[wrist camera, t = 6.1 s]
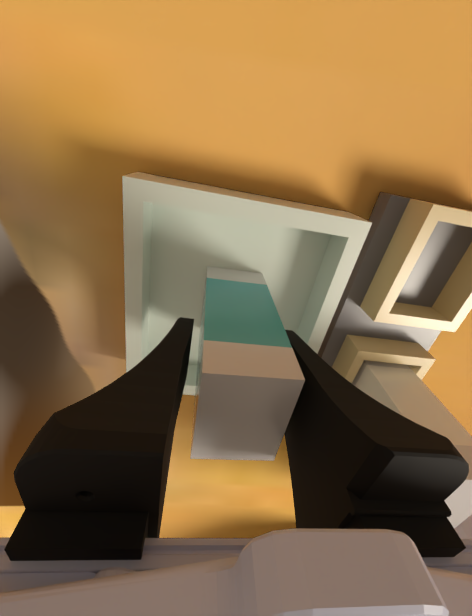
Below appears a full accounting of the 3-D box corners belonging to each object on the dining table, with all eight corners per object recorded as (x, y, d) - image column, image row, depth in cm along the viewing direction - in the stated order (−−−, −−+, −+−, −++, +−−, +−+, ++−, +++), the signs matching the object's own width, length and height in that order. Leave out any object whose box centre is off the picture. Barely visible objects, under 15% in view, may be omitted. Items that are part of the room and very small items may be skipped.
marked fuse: (248, 332, 17) (273, 460, 10) (199, 328, 16) (190, 458, 9) (262, 273, 15) (305, 380, 8) (207, 266, 14) (202, 372, 7)
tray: (288, 376, 20) (296, 403, 18) (136, 362, 18) (126, 389, 16) (349, 212, 14) (372, 222, 12) (137, 171, 13) (122, 175, 10)
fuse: (371, 396, 20) (455, 527, 13) (333, 392, 19) (398, 527, 12) (397, 353, 18) (512, 481, 11) (355, 348, 17) (447, 478, 10)
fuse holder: (383, 397, 21) (402, 425, 19) (299, 389, 20) (309, 419, 18) (497, 216, 15) (548, 227, 12) (380, 191, 14) (412, 199, 11)
